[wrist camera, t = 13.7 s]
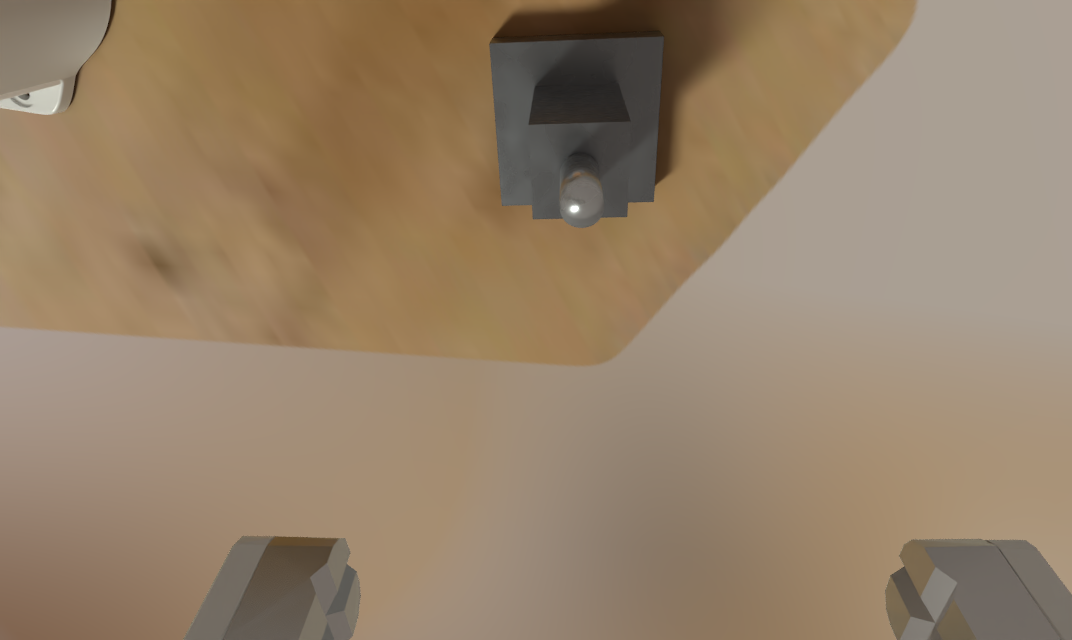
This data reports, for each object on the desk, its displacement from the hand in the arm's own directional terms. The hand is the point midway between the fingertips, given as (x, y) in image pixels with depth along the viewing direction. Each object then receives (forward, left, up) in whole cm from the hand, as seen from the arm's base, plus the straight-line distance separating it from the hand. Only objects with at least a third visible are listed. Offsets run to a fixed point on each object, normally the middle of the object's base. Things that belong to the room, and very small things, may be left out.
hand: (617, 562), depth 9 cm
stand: (0, -3, -35) cm, 35 cm away
